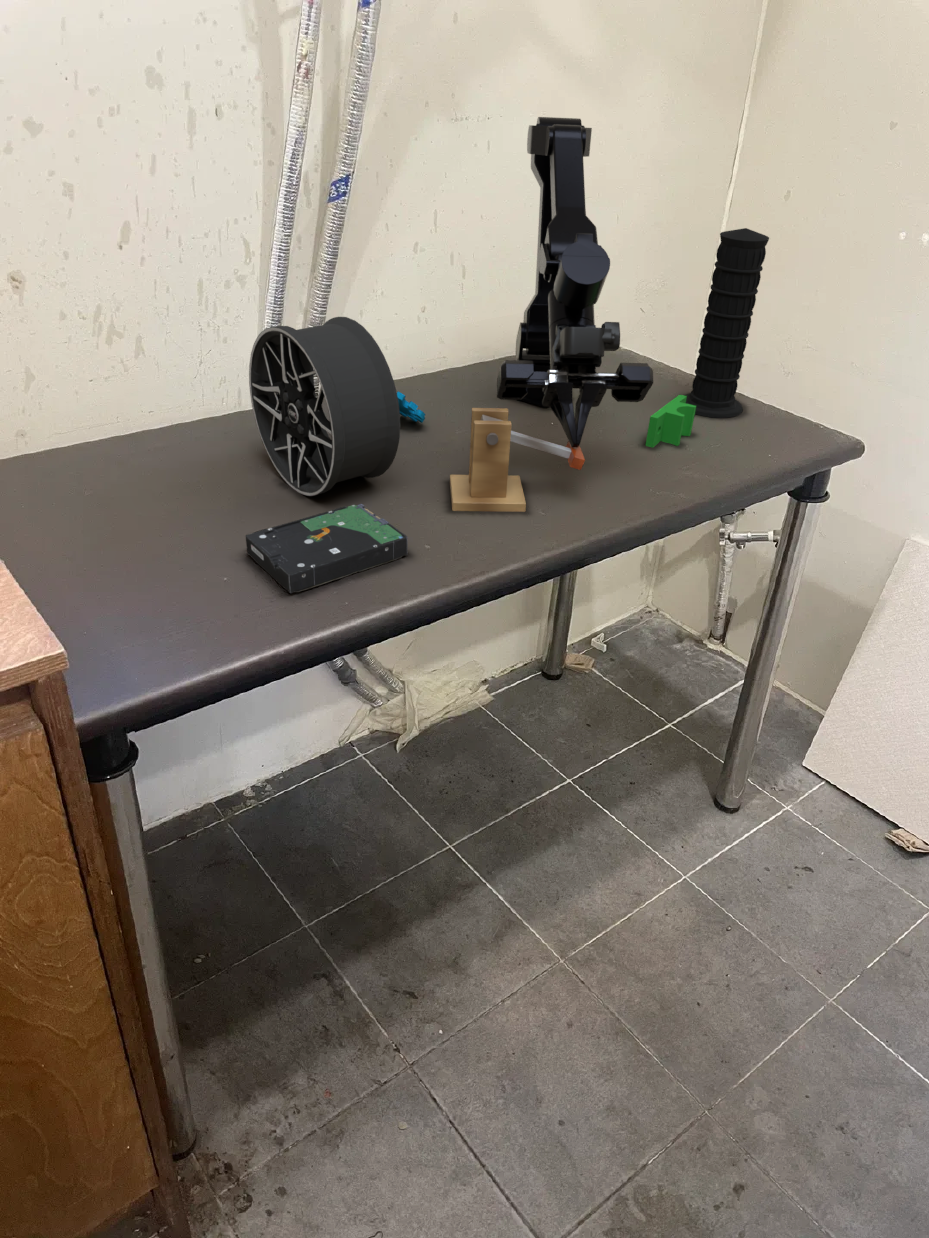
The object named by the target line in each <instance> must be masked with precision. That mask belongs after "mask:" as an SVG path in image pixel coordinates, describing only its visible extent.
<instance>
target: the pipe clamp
mask: <svg viewBox="0 0 929 1238" xmlns="http://www.w3.org/2000/svg"><path fill="white" fill-rule="evenodd" d="M684 395H685V394H678V395H677V396H676V397H674V398H673V399H672V400H670V401H669V402H668V403H666V404H665V405H664V406H662V407H661V408H660V409H658V410H657V411H656V412H654V413H653V414H652V415H650V416H649V422H648V427H647V434H646V440H645V447H649V448H652V449H653V448H655V446H657V445H658V444H659V443H661V442H662V443H667V444H669V445H673V446H676V447H679V446H680V444H681V439H682V436H683V437H690V436H691V435H692V432H693V431H692V430H693V425H694V419H695V415H696V414H695V410H696V406H694V405H690V404H686V398H687V396H684Z"/></svg>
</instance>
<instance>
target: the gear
mask: <svg viewBox="0 0 929 1238" xmlns="http://www.w3.org/2000/svg"><path fill="white" fill-rule="evenodd" d="M396 392H397V397H398V403H399V411H400V416H402V417H404V418H407V417H408V418H409V419H410V420H411V421H412V422H414V423H417V422H418V423H421V424H423V423H424V422H425V420H426V413H425V412H424V411H423V410H421V409H418V408H419V406H418V404H416V403H415V402H413V401H412V400H410V401H408V400H406V395H405V394H404V393H402V392H400V391H399V390H398V391H396Z"/></svg>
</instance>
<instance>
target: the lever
mask: <svg viewBox="0 0 929 1238" xmlns="http://www.w3.org/2000/svg"><path fill="white" fill-rule="evenodd" d="M480 421H503V420H499V419H496V418H493V417H489V416H486V415H482V417H481V420H480ZM510 443H515V444H518V445H521V446H525V447H527V448H532V449H535V450H537V451H541V452H545V453H548V454H550V455H555V456H558V457H561V458H565V459H566V460H567V462H568V465H569V467H570V468H571V469H575V470H578V471H581V470H582V468H583V466H584V463H585V462H586V459H585V456H584V454H583V450H582V448H581V447H580V445H579V447H572V446H571V444H570V442H569V440H568V441H567V442H566V445H565V446H563V445H561V444H557V443H554V442H550V441H547V440H543V439H540V438H538V437H534V436H530V435H528V434H524V433H521V432H517V431H514V430H511V439H510Z"/></svg>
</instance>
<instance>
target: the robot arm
mask: <svg viewBox="0 0 929 1238" xmlns="http://www.w3.org/2000/svg"><path fill="white" fill-rule="evenodd" d="M592 131H593V129H592V127H586V126H585V125H583V124H582V119H581V118H577V117H576V118H574V117H552V116H551V117H550V116H537V119H536V125H531V124H529V125H528V129H527V140H526V152H527V154H529V155H530V169H531V172H532V174H533V176H534V178H535V180H536V182H537V184H538V186H539V189H540V190H539V191H540V192H539V209H538V229H537V248H536V249H537V250H536V251H537V252H536V268H535V269H536V270H535V289H534V290H535V292H534V294H533V297H532V298H531V300H530V301H529V303H528V304H527V306H526V308H525V309H524V311H523V321H522V322H519V325H518V330H517V334H516V338H515V358H516V360H514V359H504V361H502V363H501V364H500V365H499V370H498V374H497V379H496V380H497V381H496V398H497V399H499V400H502V401H503V400H508V401H509V400H510V401H511V400H513V401H522V402H525V403H527V404H532V405H535V406H538V407H542V408H550V410H551V411H552V412H553V414H554V415H555V417H556V419H557V420H558V421H559V424H560V425H561V427H562V429H563V432H564V433H565V436H566V438H567V440H568V441H569V442H570V444H571V446H572V447H579V446H580V445H581V441H582V438H583V435H584V432H585V428H586V424H587V421H588V417H589V415H590V412H591V409H592V408H597V407H600V405H601V403H602V400H603V398H605V397H604V396H605V395H606V392H607V390H611V397H612V398H613V399H614V400H615V401H616V402H619V403H621V402H622V403H640V402H642V401H644V399H645V398H646V397H647V394H648V392H649V391H650V389H651V388H652V386H653V385H654V370H653V368H652V366H650V365H649V364H648V363H647V362H620V363H619V364H618V367H617V369H616V371H615V372H597V368H600V367H601V365H602V363H603V361H602V360H603V359H602V358H604V357H605V352H616V351H618V350H619V349H620V346H621V327H620V321H605V322H604V323H602V324H601V326H600V327H597V326H596V323H595V322H596V321H595V305H596V304H597V303H598V301H599V298H600V295H601V294H602V291H603V288H604V285H605V283H606V280H607V277H608V275H609V272H610V268H611V258H610V257H609V255H608V253H607V251H606V250H605V249H604V247H602V245H599V242H598V241H599V240H598V232H597V231H598V230H597V227H596V225H595V224H594V223H593V221H592V220H591V219H590V218H589V217H588V216H587V211H586V193H585V192H586V191H585V190H586V188H585V169H584V168H585V167H584V157H590V153H591V141H592ZM573 389H575V390H576V389H578V392H579V395H578V397H577V399H576V400H575V401H576V402H575V408H574V402H573ZM574 409H575V410H574Z"/></svg>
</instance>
